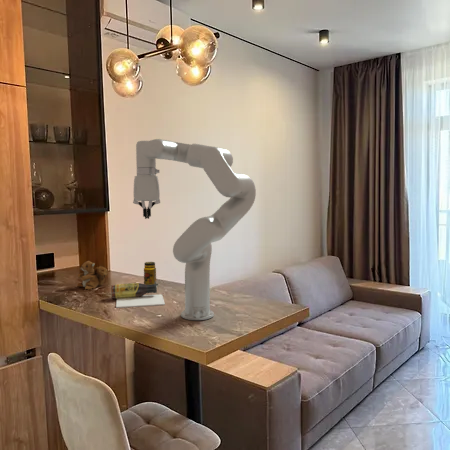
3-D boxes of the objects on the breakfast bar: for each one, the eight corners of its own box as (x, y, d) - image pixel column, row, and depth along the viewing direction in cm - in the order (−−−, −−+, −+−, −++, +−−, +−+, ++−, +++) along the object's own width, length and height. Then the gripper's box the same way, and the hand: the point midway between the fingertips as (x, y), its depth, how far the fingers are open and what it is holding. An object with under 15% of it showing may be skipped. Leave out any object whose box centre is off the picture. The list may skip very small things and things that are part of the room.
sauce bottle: (110, 282, 189) (155, 277, 193) (111, 293, 192) (155, 288, 196) (110, 290, 183) (157, 286, 188) (112, 302, 186) (157, 297, 191)
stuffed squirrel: (75, 286, 211) (74, 260, 210) (102, 282, 220) (102, 257, 219) (82, 290, 204) (81, 263, 202) (110, 286, 212) (109, 260, 211)
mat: (164, 304, 179) (164, 303, 179) (116, 307, 174) (116, 306, 174) (162, 295, 194) (161, 294, 194) (117, 297, 190) (117, 296, 190)
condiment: (142, 287, 209) (141, 263, 208) (144, 283, 218) (144, 260, 217) (157, 287, 210) (156, 263, 209) (159, 283, 218) (158, 260, 217)
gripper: (164, 172, 174) (164, 217, 175) (127, 172, 170) (128, 218, 172) (165, 172, 166) (166, 218, 168) (126, 172, 163) (128, 219, 165)
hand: (147, 218), depth 170 cm, fingers closed
